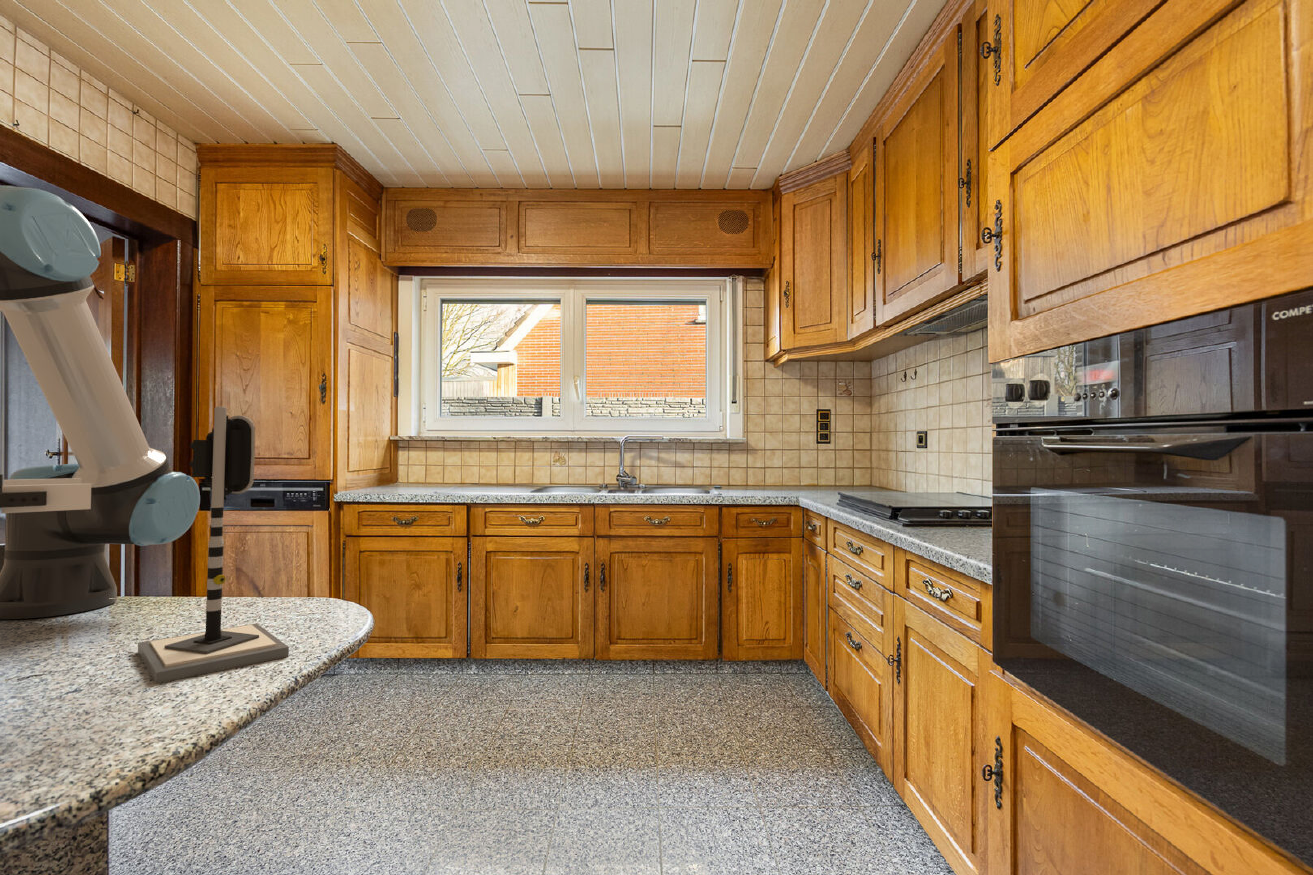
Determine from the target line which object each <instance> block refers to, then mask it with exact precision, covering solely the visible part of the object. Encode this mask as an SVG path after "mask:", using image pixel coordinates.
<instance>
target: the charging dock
mask: <svg viewBox="0 0 1313 875" xmlns="http://www.w3.org/2000/svg"><path fill="white" fill-rule="evenodd" d="M221 631H229V632H237V633H245V634H254V635H259V638H257V639H254V640H251V641H248V642H244V643H241V644H238V645H235V646H232V647H228V648H225V649H222V650H219V651H216V652H213V653H209V654H201V653H193V652H186V651H179V650H171V649H164V647H165V645H169V644H172V643H176V642H179V641H183V640H187V639H190V638H194V637H197V636H201V635H204V634H205V632H206V631H202V632H195V633H190V634H184V635H177V636H172V637H171V636H170V637H166V638H159V639H153V640H148V641H142V642H141V641H140V642H137V653H138V655H139V657H140V658H141V660H142V662H143V664H144V666H145V667H146V669H147V671H148V672H149V674H150V676H151V678H152V679H153V681H154V683H155V684H156V685H157V684H162V683H166V682H171V681H176V680H181V679H185V678H190V677H195V676H199V675H205V674H210V673H215V672H220V671H225V670H230V669H235V668H240V667H243V666H244V667H245V666H249V665H253V664H258V663H259V664H260V663H263V662H264V663H265V662H268V661H273V660H277V659H278V660H279V659H282V658H287V657H289V652H290V646H288V645H287V644H285V643H284V642H283V641H282V640H280V639H279V638H278V637H276V636H275V635H274V634H272V633H271V632H269V631H268V630H266V629H265V628H264V627H262V626H261V625H260V624H259V623H257V622H256V623H251V624H244V625H239V626H234V627H233V626H232V627H227V628H225V627H224V628H221Z"/></svg>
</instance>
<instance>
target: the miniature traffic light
mask: <svg viewBox="0 0 1313 875" xmlns="http://www.w3.org/2000/svg"><path fill="white" fill-rule="evenodd" d="M227 412H228V410H227V406H215V407H214V415H213V416H214V419H213V420H214V421H213V422H214V423H213V428H211V431H210V432H209V433H207V435H206V437H205V439H193V441H192V442H191V443H190V446H189V447H190V448H191V450H192V460H190V462H189V467H190V468H192V471H191V477H192V478H204V482H205V485H207V486H208V487H209V490H210V491H211V504H210V505H211V506H210V531H209V534H210V535H209V536H210V537H209V541H208V550H207V554H208V555H207V579H206V580H207V584H206V606H205V607H206V608H205V609H206V610H205V613H206V614H205V615H206V616H205V631H204V632H205V634H204V635H201V636H197V637H194V638H190V639H187V640H183V641H179V642H176V643H172V644H169V645H165V647H164V649H171V650H179V651H186V652H193V653H201V654H209V653H213V652H216V651H219V650H222V649H225V648H228V647H232V646H235V645H238V644H241V643H244V642H248V641H251V640H254V639H257V638H259V635H254V634H245V633H237V632H229V631H221V629H222V600H223V584H225V582H226V578H227V577H226V576H225V575H224V573H223V571H224V544H225V543H224V538H223V535H224V534H223V532H224V531H223V530H224V529H223V528H224V502H225V500H226V496H228V495H230V494H234V495H236V494H243V493H245V492H248V490H249V489H250V488H252V486H253V484H254V477H255V474H254V473H255V461H256V460H255V459H256V426H255V423H254V422H253V421H252V419H250V418H249V417H247V416H246V415H245V416H244V415H233V416H231V417H229V415H227Z"/></svg>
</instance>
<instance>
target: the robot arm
mask: <svg viewBox="0 0 1313 875" xmlns="http://www.w3.org/2000/svg"><path fill="white" fill-rule="evenodd" d="M101 250H102V249H101V245H100V241H99V238H98V236H97V233H96V231H95V230H94V228H93V226H92V224H91V223H90V222H89V221H88V219H87V218H86V217H85V216H84V215H83V213H82V212H81V211H80V210H79V209H77V207H75V206H74V205H72V204H71V203H69V202H68V201H65V200H63V198H62V197H60V196H59V195H56V194H54V193H51V192H49V191H47V190H44V189H43V190H42V189H39V188H35V187H34V188H32V187H23V186H21V187H20V186H14V185H1V184H0V311H1V313H3V314H4V317H5V318H6V321H7V323H8V325H9V328H10V329H11V331H12V333H13V335H14V336H15V339H16V341H17V343H18V345H19V347H20V349H21V351H22V353H23V355H24V358H25V360H26V362H27V364H28V365H29V367H30V369H31V371H32V374H33V375H34V377H35V379H36V381H37V383H38V385H39V388H40V390H41V391H42V393H43V396H44V398H45V400H46V402H47V403H48V406H49V408H50V410H51V412H52V414H53V415H54V417H55V420H56V421H57V424H58V426H59V428H60V430H61V432H62V434H63V435H64V438H65V440H66V442H67V444H68V446H69V448H70V451H71V452H72V454H73V456H74V458H75V461H76V462H77V463H67V464H52V465H51V464H50V465H41V466H39V465H38V466H33V467H32V466H31V467H25V468H21V469H17V470H16V471H14V472H13V473H12V474H11V475H10V476H9V479H3V478H4V474H0V514H5V521H4V522H5V523H4V524H5V526H4V527H5V530H4V559H3V566H2V568H1V570H0V620H23V619H24V620H25V619H26V620H27V619H35V618H36V619H38V618H46V617H55V616H62V615H63V616H64V615H68V614H76V613H81V612H86V611H90V610H94V609H101V608H102V607H106V606H109V605H112V604H114V603H116V602H117V599H109V598H117V597H118V596H117V595H118V587H117V584H116V582H115V579H114V577H113V574H112V572H111V569H110V567H109V565H108V562H107V559H106V557H105V556H106V554H105V552H106V551H105V550H106V545H136V546H139V547H145V546H146V547H147V546H150V545H164V544H169V543H171V542H174V541H176V540H177V539H179V538H181V537H182V536H183V535H184V534H185V533H186V532H187V531H188V530H189V529H190V528H191V526H192V525H193V523H194V521H195V520H196V516H197V514H198V512H199V508H200V504H201V495H200V489H199V486H198V484H197V482H196V480H195V479H194V477H192V476H190V475H187V474H186V473H183V472H182V471H173V469H172V467H171V465H170V463H169V461H168V458H167V455H165V453H164V452H163V451H161V450H158V449H156V448H155V449H154V448H152V447H150V445H149V443H148V441H147V439H146V436H145V434H144V432H143V430H142V428H141V426H140V423H139V420H138V418H137V416H136V414H135V411H134V409H133V407H132V404H131V402H130V399H129V397H128V395H127V392H126V391H125V387H124V385H123V384H122V383H123V382H122V381H121V378H120V376H119V374H118V372H117V369H116V367H115V365H114V363H113V360H112V358H111V355H110V353H109V350H108V349H107V346H106V343H105V342H104V339H103V337H102V335H101V332H100V330H99V328H98V325H97V323H96V320H95V318H94V316H93V314H92V312H91V309H90V307H89V304H88V302H87V298H88V297H89V295H90V294H91V293H92V291H93V290H94V288H95V284H94V282H93V280H92V277H91V275H92V274H93V273H94V272H96V270H97V269H98V267H99V264H100V261H99V260H98V258H100V257H101V255H102V251H101Z"/></svg>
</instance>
